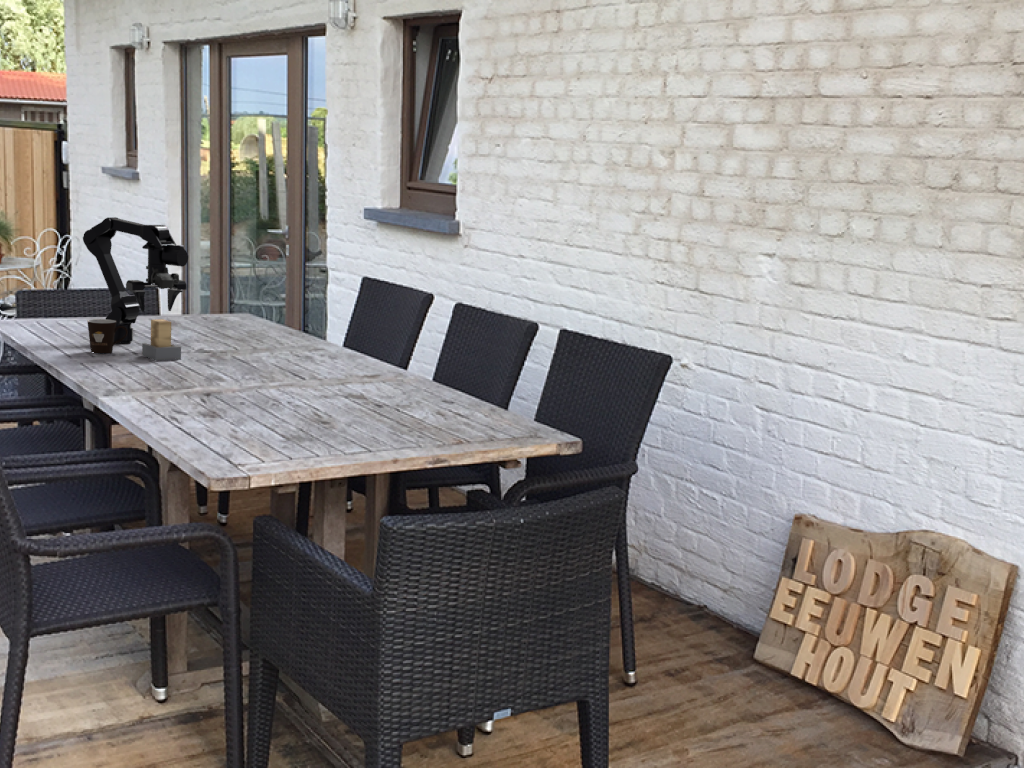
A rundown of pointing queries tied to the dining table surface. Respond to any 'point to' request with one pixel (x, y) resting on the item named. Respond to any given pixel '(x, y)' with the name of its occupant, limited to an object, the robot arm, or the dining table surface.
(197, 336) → the dining table surface
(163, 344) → the block
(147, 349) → the end cap
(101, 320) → the coffee mug
